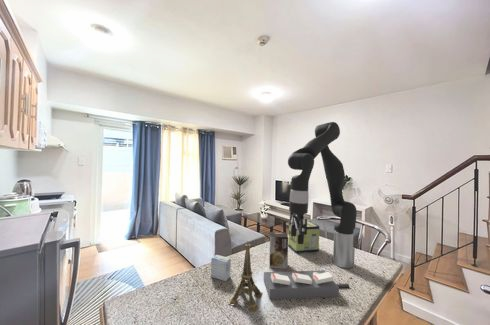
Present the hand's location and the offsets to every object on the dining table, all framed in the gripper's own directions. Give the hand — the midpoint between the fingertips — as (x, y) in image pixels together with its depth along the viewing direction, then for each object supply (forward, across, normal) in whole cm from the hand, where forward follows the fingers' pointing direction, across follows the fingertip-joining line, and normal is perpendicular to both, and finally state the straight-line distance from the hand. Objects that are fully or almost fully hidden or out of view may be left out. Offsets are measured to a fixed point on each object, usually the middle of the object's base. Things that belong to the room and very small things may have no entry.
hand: (296, 239), depth 85 cm
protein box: (+20, +39, -19) cm, 48 cm away
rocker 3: (+15, -2, -11) cm, 19 cm away
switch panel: (+21, +1, -6) cm, 22 cm away
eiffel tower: (+22, -5, +20) cm, 30 cm away
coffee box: (+21, +20, +2) cm, 29 cm away
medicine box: (+22, +10, +31) cm, 39 cm away
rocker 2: (+15, -2, -2) cm, 15 cm away
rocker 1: (+15, -2, +7) cm, 17 cm away
